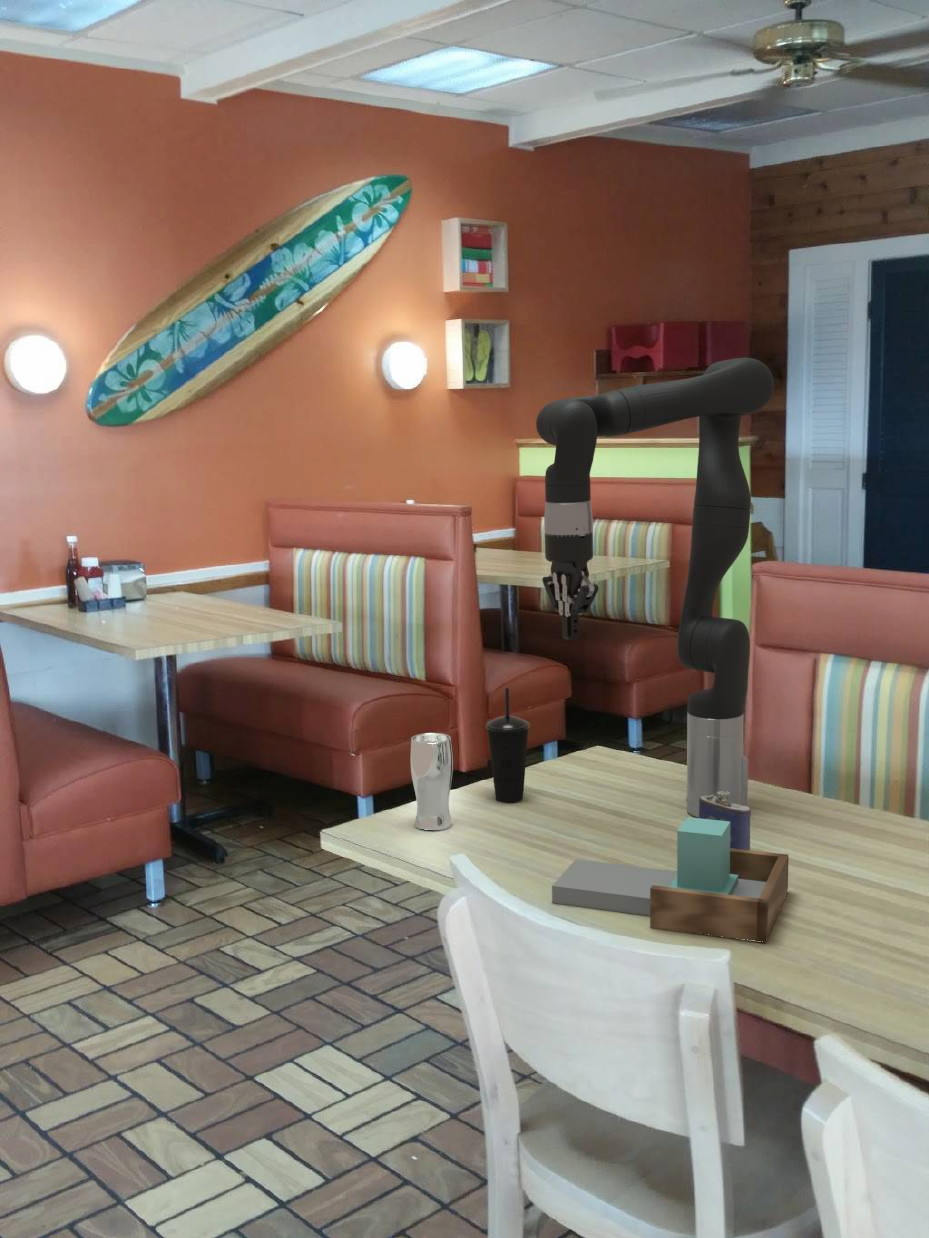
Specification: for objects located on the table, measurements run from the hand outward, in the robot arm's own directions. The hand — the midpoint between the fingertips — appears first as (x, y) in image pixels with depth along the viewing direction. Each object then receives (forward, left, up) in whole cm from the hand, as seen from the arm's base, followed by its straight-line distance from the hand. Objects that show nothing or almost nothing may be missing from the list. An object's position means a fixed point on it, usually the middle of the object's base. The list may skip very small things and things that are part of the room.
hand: (570, 638), depth 204 cm
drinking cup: (+2, -20, -32) cm, 38 cm away
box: (-3, +37, -32) cm, 49 cm away
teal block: (-2, +35, -29) cm, 46 cm away
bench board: (+3, +31, -32) cm, 45 cm away
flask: (-15, +21, -32) cm, 41 cm away
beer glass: (+19, -13, -32) cm, 40 cm away
